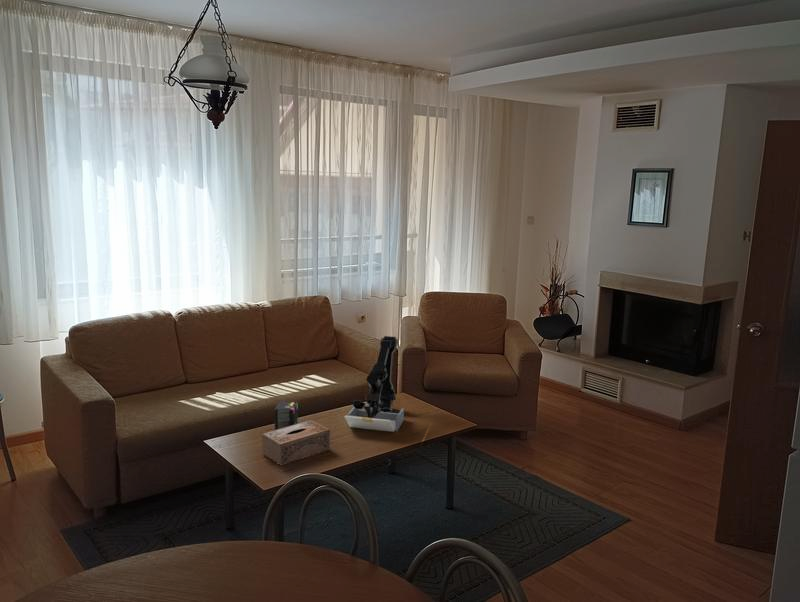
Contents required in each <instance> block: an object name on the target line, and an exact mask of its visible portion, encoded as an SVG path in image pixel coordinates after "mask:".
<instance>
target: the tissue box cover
mask: <svg viewBox="0 0 800 602" xmlns="http://www.w3.org/2000/svg"><path fill="white" fill-rule="evenodd" d="M261 437H262V439H261V440H262V455H263V454H264V455H265V456H264V455H263V456H264V457H266V456H267V457H269V458H270V459H272V460H273V461H275V462H277V463H279V464H280V465H281V464H285V463H288V462H291V461H294V460H297V459H300V460H302V459H301V458H303V457H306V456H309V455H312V456H314V455H313V454H315V455H317V454H316V453H318V454H320V453H319V452H321V453H324V452H327V451H326V450H328V451H330V450H331V429H330V428H328V427H326V426H324V425H322V424H320V423H318V422H316V421H314V420H312V419H310V420H307V421H303V422H300V423H298V424H295V425H292V426H288V427H285V428H281V429H278V430H275V429H274V430H270V431H267V432H264V433H262V436H261ZM329 449H330V450H329ZM323 451H324V452H323ZM267 457H266V458H267ZM309 457H310V456H309ZM269 458H268V459H269ZM306 458H307V457H306ZM270 459H269V460H270ZM303 459H304V458H303ZM272 460H271V461H272ZM273 461H272V462H273ZM297 461H298V460H297ZM275 462H274V463H275ZM294 462H295V461H294ZM277 463H276V464H277ZM291 463H292V462H291ZM288 464H289V463H288ZM280 465H279V466H280ZM285 465H286V464H285Z"/></svg>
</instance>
